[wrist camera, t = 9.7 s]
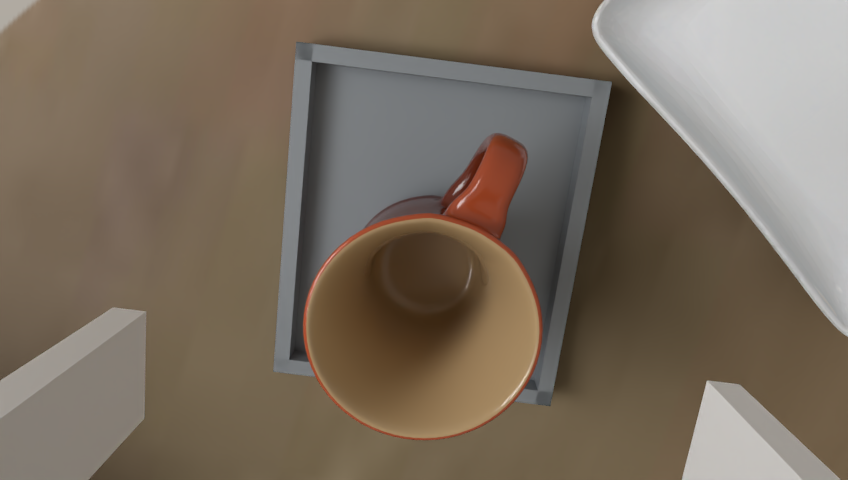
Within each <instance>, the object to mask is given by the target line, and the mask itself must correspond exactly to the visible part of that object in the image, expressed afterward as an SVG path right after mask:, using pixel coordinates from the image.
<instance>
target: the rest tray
mask: <svg viewBox="0 0 848 480" xmlns="http://www.w3.org/2000/svg"><path fill="white" fill-rule="evenodd" d="M611 85H612V82H609V81H601V80H593V79H585V78H577V77H570V76H562V75H554V74H546V73H538V72H530V71H523V70H515V69H507V68H499V67H491V66H483V65H475V64H468V63H460V62H452V61H444V60H436V59H428V58H420V57H413V56H405V55H397V54H389V53H381V52H373V51H365V50H358V49H350V48H342V47H334V46H326V45H318V44H310V43H303V42H296V54H295V68H294V83H293V97H292V111H291V126H290V140H289V154H288V169H287V183H286V197H285V212H284V226H283V241H282V255H281V269H280V284H279V298H278V312H277V327H276V341H275V355H274V370H273V372H280V373H288V374H297V375H305V376H313V377H315V374H314V372H313V370H312V368H311V366H310V363H309V360H308V357H307V353H306V349H305V343H304V336H303V319H304V310H305V304H306V300H307V296H308V293H309V290H310V288H311V285H312V283H313V280H314V279H315V277H316V275H317V273H318V271H319V270H320V268H321V267H322V265H323V264H324V262H325V261H326V260H327V258H328V257H329V256H330V255H331V254H332V253H333V252H334V251H335V250H336V249H337V248H338V247H339V246H340V245H341V244H342V243H343V242H345V241H346V240H347V239H348V238H350V237H351V236H353V235H354V234H356V233H357V232H359V231H361V230H363V229H364V227H365V226H366V225H367V223H368V222H369V221H370V220H371V219H372V218H373V217H374V216H375V215H376V214H378V213H379V212H380V211H382V210H383V209H385V208H386V207H388V206H390V205H392V204H394V203H396V202H399V201H401V200H404V199H408V198H411V197H416V196H423V195H436V196H441V197H443V196H444V194H445V193H446V191H447V190H448V189H449V187H450V186H451V185H452V184H453V183H454V181H455V180H456V179H457V178H458V177H459V176H460V175H461V174H462V173H463V171H464V170H465V168H466V167H467V165H468V164H469V162H470V161H471V159H472V157H473V156H474V154H475V152H476V151H477V149H478V148H479V146H480V145H481V143H482V142H483V141H484V140H485V139H486V137H488V136H489V135H491V134H493V133H502V134H505V135H508V136H510V137H512V138H514V139H515V140H517V141H519V142H520V143H522V144H523V145H524V146H525V148H526V149H527V151H528V162H527V166H526V169H525V172H524V175H523V177H522V179H521V182H520V184H519V186H518V188H517V190H516V192H515V194H514V196H513V199H512V201H511V203H510V205H509V208H508V212H507V219H506V225H505V228H504V231H503V233H502V236H501V239H500V241H501V242H502V243H504V244H505V245H506V246H507V247H509V248H510V249H511V250H512V251H513V252H514V253H515V254H516V255H517V257H518V258H519V259H520V261H521V262H522V264H523V265H524V267H525V269H526V271H527V272H528V274H529V276H530V278H531V280H532V283H533V285H534V287H535V290H536V293H537V295H538V299H539V303H540V307H541V313H542V322H543V334H542V344H541V350H540V355H539V358H538V362H537V365H536V367H535V370H534V372H533V374H532V376H531V378H530V380H529V382H528V384H527V385H526V387H525V388H524V390H523V391H522V393H521V394H520V395H519V396H518V398H517V399H516V400H515V401H514V402H522V403H530V404H538V405H546V406H550V405H551V399H552V394H553V389H554V384H555V378H556V373H557V368H558V363H559V357H560V352H561V347H562V342H563V336H564V331H565V326H566V321H567V316H568V310H569V305H570V300H571V295H572V289H573V284H574V279H575V274H576V268H577V263H578V258H579V253H580V247H581V242H582V237H583V232H584V226H585V221H586V216H587V211H588V206H589V200H590V195H591V190H592V185H593V179H594V174H595V169H596V164H597V158H598V153H599V148H600V143H601V137H602V132H603V127H604V122H605V117H606V111H607V106H608V101H609V96H610V90H611Z"/></svg>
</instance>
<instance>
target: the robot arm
mask: <svg viewBox="0 0 848 480" xmlns="http://www.w3.org/2000/svg"><path fill="white" fill-rule="evenodd" d="M145 355H146V311H138V310H130V309H122V308H114V307H113V308H111V309H110V310H108V311H107V312H105V313H104V314H102V315H101V316H99V317H98V318H96V319H94V320H93V321H91V322H90V323H88V324H87V325H85V326H84V327H82V328H81V329H79V330H77V331H76V332H74V333H73V334H71V335H70V336H68V337H67V338H65V339H64V340H62V341H60V342H59V343H57V344H56V345H54V346H53V347H51V348H50V349H48V350H47V351H45V352H43V353H42V354H40V355H39V356H37V357H36V358H34V359H33V360H31V361H30V362H28V363H27V364H25V365H23V366H22V367H20V368H19V369H17V370H16V371H14V372H13V373H11V374H10V375H8V376H6V377H5V378H3V379H2V380H0V480H89V479H90V478H91V477H92V475H93V474H94V473H95V472H96V471H97V470H98V469H99V468H100V467H101V466H102V464H103V463H104V462H105V461H106V460H107V459H108V458H109V457H110V456H111V455H112V453H113V452H114V451H115V450H116V449H117V448H118V447H119V446H120V445H121V444H122V442H123V441H124V440H125V439H126V438H127V437H128V436H129V435H130V434H131V433H132V432H133V430H134V429H135V428H136V427H137V426H138V425H139V424H140V423H141V422H142V421H143V419H144V418H145ZM682 480H841V479H839V478H838V477H837V476H836V475H835V474H834V473H833V472H832V471H831V470H830V469H829V468H828V467H827V466H826V465H825V464H824V463H822V462H821V461H820V460H819V459H818V458H817V457H816V456H815V455H814V454H813V453H812V452H811V451H810V450H809V449H808V448H807V447H806V446H804V445H803V444H802V443H801V442H800V441H799V440H798V439H797V438H796V437H795V436H794V435H793V434H792V433H791V432H790V431H789V430H787V429H786V428H785V427H784V426H783V425H782V424H781V423H780V422H779V421H778V420H777V419H776V418H775V417H774V416H773V415H772V414H771V413H769V412H768V411H767V410H766V409H765V408H764V407H763V406H762V405H761V404H760V403H759V402H758V401H757V400H756V399H755V398H754V397H752V396H751V395H750V394H749V393H748V392H747V391H746V390H745V389H744V388H743V387H742V386H741V385H740V384H733V383H725V382H716V381H708V380H707V383H706V387H705V391H704V395H703V399H702V403H701V406H700V410H699V414H698V418H697V422H696V426H695V430H694V434H693V438H692V442H691V446H690V450H689V454H688V457H687V461H686V465H685V469H684V473H683V477H682Z"/></svg>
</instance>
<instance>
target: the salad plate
mask: <svg viewBox="0 0 848 480" xmlns="http://www.w3.org/2000/svg"><path fill="white" fill-rule="evenodd" d="M592 31H593V36H594V38H595V40H596V42H597V44H598V45H599V46H600V48H601V49H602V50H603V52H604V53H605V54H606V56H607V57H608V58H609V59H610V60H611V62H612V63H613V64H614V65H615V66H616V68H617V69H618V70H619V71H620V72H621V73H622V74H623V76H624V77H625V78H626V79H627V80H628V81H629V82H630V83H631V84H632V86H633V87H634V88H635V89H636V90H637V91H638V92H639V93H640V94H641V95H642V96H643V97H644V98H645V99H646V100H647V101H648V103H649V104H650V105H651V106H652V107H653V108H654V109H655V110H656V111H657V112H658V113H659V114H660V115H661V116H662V117H663V119H664V120H665V121H666V122H667V123H668V124H669V125H670V126H671V127H672V128H673V129H674V130H675V131H676V132H677V133H678V134H679V136H680V137H681V138H682V139H683V140H684V141H685V142H686V143H687V144H688V146H689V147H690V148H691V149H692V150H693V151H694V152H695V153H696V155H697V156H698V157H699V158H700V159H701V160H702V161H703V162H704V164H705V165H706V166H707V167H708V168H709V169H710V170H711V172H712V173H713V174H714V175H715V176H716V177H717V179H718V180H719V181H720V182H721V183H722V184H723V186H724V187H725V188H726V189H727V190H728V191H729V193H730V194H731V195H732V196H733V197H734V199H735V200H736V201H737V202H738V203H739V205H740V206H741V207H742V208H743V210H744V211H745V212H746V213H747V215H748V216H749V217H750V218H751V220H752V221H753V222H754V224H755V225H756V226H757V227H758V229H759V230H760V231H761V233H762V234H763V235H764V236H765V238H766V239H767V240H768V242H769V243H770V244H771V245H772V247H773V248H774V249H775V251H776V252H777V253H778V255H779V256H780V257H781V259H782V260H783V261H784V262H785V264H786V265H787V266H788V268H789V269H790V270H791V272H792V273H793V274H794V276H795V277H796V278H797V280H798V281H799V283H800V284H801V285H802V287H803V288H804V289H805V290H806V292H807V293H808V294H809V296H810V297H811V298H812V300H813V301H814V302H815V304H816V305H817V306H818V307H819V309H820V310H821V311H822V312H823V314H824V315H825V316H826V317H827V318H828V319H829V320H830V322H831V323H832V324H833V325H834V326H835V327H836V328H837V329H838V330H839V331H840V332H842V333H843V334H844V335H846V336H848V0H604V1H603V2H602V3H601V5H600V6H599V7H598V9H597V11H596V13H595V15H594V17H593V20H592Z"/></svg>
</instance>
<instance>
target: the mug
mask: <svg viewBox="0 0 848 480" xmlns="http://www.w3.org/2000/svg"><path fill="white" fill-rule="evenodd" d="M527 162H528V151H527V149H526V148H525V146H524V145H523V144H522V143H520V142H519V141H517V140H515V139H514V138H512V137H510V136H508V135H505V134H502V133H493V134H491V135H489V136H488V137H486V139H485V140H484V141H483V142H482V143H481V145H480V146H479V148H478V149H477V151H476V152H475V154H474V156H473V157H472V159H471V161H470V162H469V164H468V165H467V167H466V168H465V170H464V171H463V173H462V174H461V175H460V176H459V177H458V178H457V179H456V180H455V181H454V183H453V184H452V185H451V186H450V187H449V189H448V190H447V191H446V193H445V194H444V196H443V197H441V196H436V195H423V196H416V197H411V198H408V199H404V200H401V201H399V202H396V203H394V204H392V205H390V206H388V207H386V208H385V209H383V210H382V211H380V212H379V213H378V214H376V215H375V216H374V217H373V218H372V219H371V220H370V221H369V222H368V223H367V225H366V226H365V227H364V229H363V230H361V231H359V232H357V233H356V234H354V235H353V236H351V237H350V238H348V239H347V240H346V241H345V242H343V243H342V244H341V245H340V246H339V247H338V248H337V249H336V250H335V251H334V252H333V253H332V254H331V255H330V256H329V257H328V258H327V260H326V261H325V262H324V264H323V265H322V267H321V268H320V270H319V271H318V273H317V275H316V277H315V279H314V280H313V283H312V285H311V288H310V290H309V293H308V296H307V300H306V304H305V310H304V319H303V336H304V343H305V349H306V353H307V357H308V360H309V363H310V366H311V368H312V370H313V372H314V374H315V377H316V378H317V380H318V382H319V383H320V385H321V387H322V388H323V389H324V391H325V392H326V394H327V395H328V396H329V397H330V398H331V399H332V401H333V402H334V403H335V404H336V405H337V406H338V407H339V408H340V409H342V410H343V411H344V412H345V413H346V414H348V415H349V416H350V417H352V418H353V419H355V420H356V421H358V422H359V423H361V424H363V425H365V426H367V427H369V428H371V429H373V430H375V431H378V432H380V433H383V434H387V435H390V436H394V437H398V438H403V439H411V440H438V439H445V438H450V437H454V436H458V435H462V434H465V433H468V432H470V431H473V430H475V429H477V428H479V427H481V426H483V425H485V424H487V423H488V422H490V421H492V420H493V419H495V418H496V417H497V416H499V415H500V414H501V413H502V412H504V411H505V410H506V409H507V408H508V407H509V406H510V405H511V404H512V403H513V402H514V401H515V400H516V399H517V398H518V396H519V395H520V394H521V393H522V391H523V390H524V388H525V387H526V385H527V384H528V382H529V380H530V378H531V376H532V374H533V372H534V370H535V367H536V365H537V362H538V358H539V355H540V350H541V344H542V334H543V322H542V313H541V307H540V303H539V299H538V295H537V293H536V290H535V287H534V285H533V283H532V280H531V278H530V276H529V274H528V272H527V271H526V269H525V267H524V265H523V264H522V262H521V261H520V259H519V258H518V257H517V255H516V254H515V253H514V252H513V251H512V250H511V249H510V248H509V247H507V246H506V245H505V244H504V243H502V242H501V241H500V239H501V236H502V233H503V231H504V228H505V225H506V219H507V212H508V208H509V205H510V203H511V201H512V199H513V196H514V194H515V192H516V190H517V188H518V186H519V184H520V182H521V179H522V177H523V175H524V172H525V169H526V166H527Z"/></svg>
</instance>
